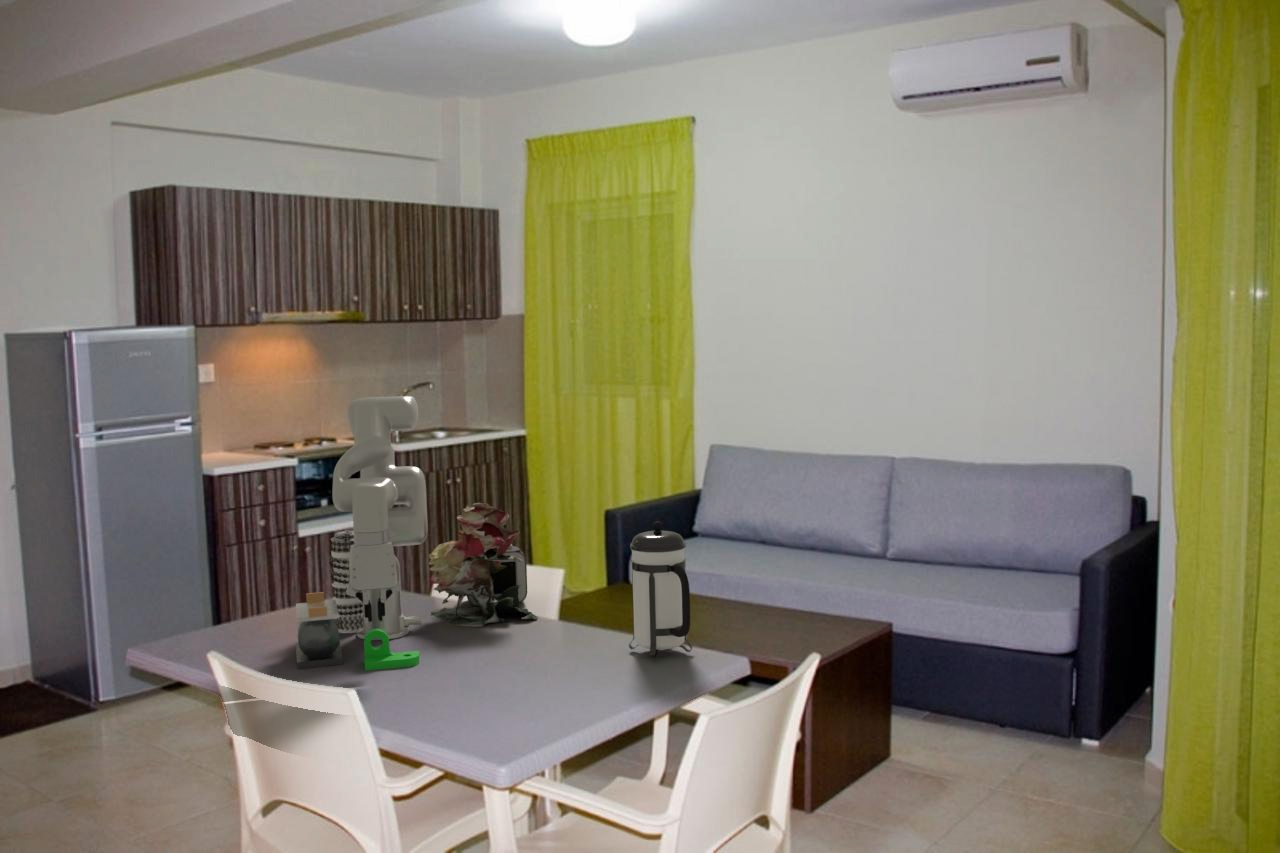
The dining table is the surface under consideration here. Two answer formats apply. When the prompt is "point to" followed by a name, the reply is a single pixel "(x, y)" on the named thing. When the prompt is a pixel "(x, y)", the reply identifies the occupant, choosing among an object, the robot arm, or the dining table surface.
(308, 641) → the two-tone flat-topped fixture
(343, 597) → the decorative candle
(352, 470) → the robot arm
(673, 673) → the dining table surface
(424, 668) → the dining table surface
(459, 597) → the rose bouquet
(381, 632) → the mechanical part
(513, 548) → the alarm clock
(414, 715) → the dining table surface
